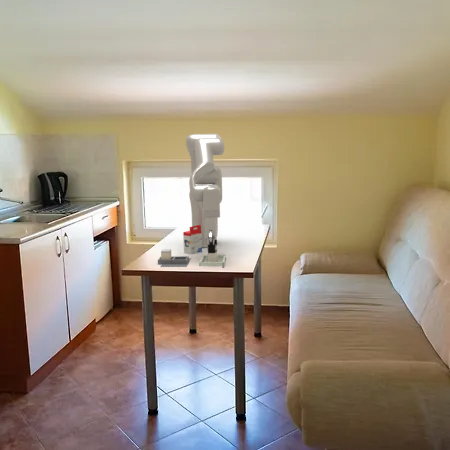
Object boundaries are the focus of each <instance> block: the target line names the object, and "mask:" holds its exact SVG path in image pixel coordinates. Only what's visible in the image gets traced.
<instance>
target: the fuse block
mask: <svg viewBox="0 0 450 450" xmlns="http://www.w3.org/2000/svg"><path fill="white" fill-rule="evenodd" d="M191 260H192V258H191V257H190V256H189V255H187V256H186V255H185V256H181V255H179V256H178V255H177V256H175V255H174V256H172V249H171V248H169V249H167V248H164V249H161V250H160V256H159V258H158V259H157V265H160V266H159V267H160V268H187V267H188V265H189V263H190V262H191Z"/></svg>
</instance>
